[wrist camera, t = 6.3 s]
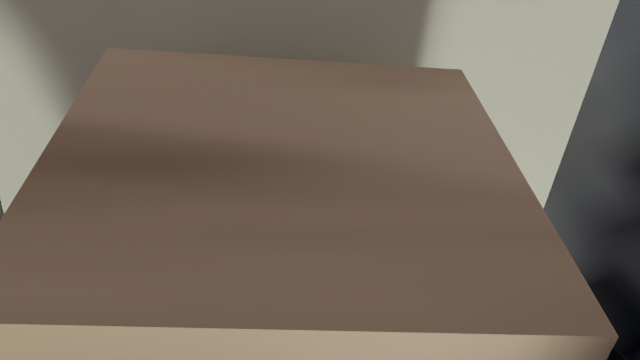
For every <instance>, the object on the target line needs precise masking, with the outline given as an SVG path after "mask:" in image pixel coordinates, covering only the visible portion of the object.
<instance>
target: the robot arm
mask: <svg viewBox="0 0 640 360" xmlns="http://www.w3.org/2000/svg"><path fill="white" fill-rule="evenodd" d="M607 360H627V359H626V358H625V357H623V356H622V355H621V354H620V353H619V352H617V351H616V350H615V349H614V348H612V350H611V352H610V354H609V356H608V358H607Z"/></svg>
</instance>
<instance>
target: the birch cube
mask: <svg viewBox="0 0 640 360" xmlns="http://www.w3.org/2000/svg"><path fill="white" fill-rule="evenodd" d="M617 339H618V335H617V333H616V332H615V330H614V328H613V326H612V325H611V323H610V321H609V320H608V318H607V316H606V315H605V313H604V311H603V309H602V308H601V306H600V304H599V303H598V301H597V299H596V298H595V296H594V294H593V292H592V291H591V289H590V287H589V286H588V284H587V282H586V281H585V279H584V277H583V275H582V274H581V272H580V270H579V269H578V267H577V265H576V264H575V262H574V260H573V259H572V257H571V255H570V253H569V252H568V250H567V248H566V247H565V245H564V243H563V242H562V240H561V238H560V236H559V235H558V233H557V231H556V230H555V228H554V226H553V225H552V223H551V221H550V219H549V218H548V216H547V214H546V213H545V211H544V209H543V208H542V206H541V204H540V202H539V201H538V199H537V197H536V196H535V194H534V192H533V191H532V189H531V187H530V185H529V184H528V182H527V180H526V179H525V177H524V175H523V174H522V172H521V170H520V168H519V167H518V165H517V163H516V162H515V160H514V158H513V157H512V155H511V153H510V151H509V150H508V148H507V146H506V145H505V143H504V141H503V140H502V138H501V136H500V134H499V133H498V131H497V129H496V128H495V126H494V124H493V123H492V121H491V119H490V117H489V116H488V114H487V112H486V111H485V109H484V107H483V106H482V104H481V102H480V100H479V99H478V97H477V95H476V94H475V92H474V90H473V89H472V87H471V85H470V83H469V82H468V80H467V78H466V77H465V75H464V73H463V72H462V70H460V69H444V68H428V67H412V66H396V65H379V64H363V63H347V62H331V61H314V60H298V59H282V58H266V57H249V56H233V55H217V54H201V53H184V52H168V51H152V50H136V49H119V48H107V49H106V51H105V52H104V54H103V55H102V57H101V59H100V60H99V62H98V64H97V65H96V67H95V68H94V70H93V72H92V73H91V75H90V76H89V78H88V80H87V81H86V83H85V85H84V86H83V88H82V89H81V91H80V93H79V94H78V96H77V97H76V99H75V101H74V102H73V104H72V106H71V107H70V109H69V110H68V112H67V114H66V115H65V117H64V118H63V120H62V122H61V123H60V125H59V127H58V128H57V130H56V131H55V133H54V135H53V136H52V138H51V139H50V141H49V143H48V144H47V146H46V147H45V149H44V151H43V152H42V154H41V156H40V157H39V159H38V160H37V162H36V164H35V165H34V167H33V168H32V170H31V172H30V173H29V175H28V177H27V178H26V180H25V181H24V183H23V185H22V186H21V188H20V189H19V191H18V193H17V194H16V196H15V198H14V199H13V201H12V202H11V204H10V206H9V207H8V209H7V210H6V212H5V214H4V215H3V217H2V219H1V220H0V360H607V358H608V356H609V354H610V352H611V350H612V348H613V346H614V345H615V343H616V341H617Z"/></svg>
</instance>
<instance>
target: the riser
mask: <svg viewBox="0 0 640 360" xmlns="http://www.w3.org/2000/svg"><path fill="white" fill-rule="evenodd" d="M618 3H619V0H0V200H1V204H2V208H3V212H4V214H5V212H6V210H7V209H8V207H9V206H10V204H11V202H12V201H13V199H14V198H15V196H16V194H17V193H18V191H19V189H20V188H21V186H22V185H23V183H24V181H25V180H26V178H27V177H28V175H29V173H30V172H31V170H32V168H33V167H34V165H35V164H36V162H37V160H38V159H39V157H40V156H41V154H42V152H43V151H44V149H45V147H46V146H47V144H48V143H49V141H50V139H51V138H52V136H53V135H54V133H55V131H56V130H57V128H58V127H59V125H60V123H61V122H62V120H63V118H64V117H65V115H66V114H67V112H68V110H69V109H70V107H71V106H72V104H73V102H74V101H75V99H76V97H77V96H78V94H79V93H80V91H81V89H82V88H83V86H84V85H85V83H86V81H87V80H88V78H89V76H90V75H91V73H92V72H93V70H94V68H95V67H96V65H97V64H98V62H99V60H100V59H101V57H102V55H103V54H104V52H105V51H106V49H107V48H119V49H136V50H152V51H168V52H184V53H201V54H217V55H233V56H249V57H266V58H282V59H298V60H314V61H331V62H347V63H363V64H379V65H396V66H412V67H428V68H444V69H460V70H462V72H463V73H464V75H465V77H466V78H467V80H468V82H469V83H470V85H471V87H472V89H473V90H474V92H475V94H476V95H477V97H478V99H479V100H480V102H481V104H482V106H483V107H484V109H485V111H486V112H487V114H488V116H489V117H490V119H491V121H492V123H493V124H494V126H495V128H496V129H497V131H498V133H499V134H500V136H501V138H502V140H503V141H504V143H505V145H506V146H507V148H508V150H509V151H510V153H511V155H512V157H513V158H514V160H515V162H516V163H517V165H518V167H519V168H520V170H521V172H522V174H523V175H524V177H525V179H526V180H527V182H528V184H529V185H530V187H531V189H532V191H533V192H534V194H535V196H536V197H537V199H538V201H539V202H540V204H541V206H542V208H544V206H545V203H546V200H547V197H548V195H549V192H550V189H551V186H552V184H553V181H554V178H555V176H556V173H557V170H558V167H559V165H560V162H561V159H562V156H563V154H564V151H565V148H566V145H567V143H568V140H569V137H570V134H571V132H572V129H573V126H574V123H575V121H576V118H577V115H578V113H579V110H580V107H581V104H582V102H583V99H584V96H585V93H586V91H587V88H588V85H589V82H590V80H591V77H592V74H593V71H594V69H595V66H596V63H597V60H598V58H599V55H600V52H601V49H602V47H603V44H604V41H605V39H606V36H607V33H608V30H609V28H610V25H611V22H612V19H613V17H614V14H615V11H616V8H617V6H618Z"/></svg>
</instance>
